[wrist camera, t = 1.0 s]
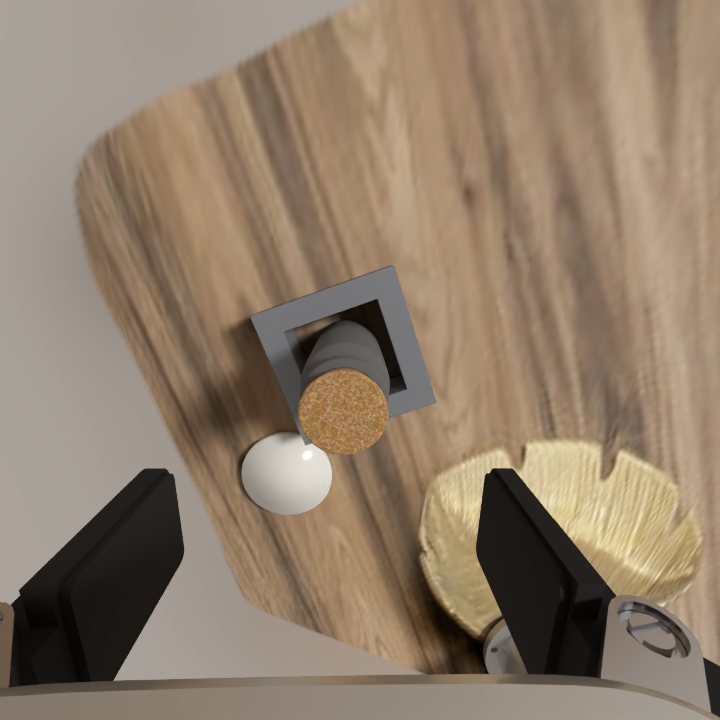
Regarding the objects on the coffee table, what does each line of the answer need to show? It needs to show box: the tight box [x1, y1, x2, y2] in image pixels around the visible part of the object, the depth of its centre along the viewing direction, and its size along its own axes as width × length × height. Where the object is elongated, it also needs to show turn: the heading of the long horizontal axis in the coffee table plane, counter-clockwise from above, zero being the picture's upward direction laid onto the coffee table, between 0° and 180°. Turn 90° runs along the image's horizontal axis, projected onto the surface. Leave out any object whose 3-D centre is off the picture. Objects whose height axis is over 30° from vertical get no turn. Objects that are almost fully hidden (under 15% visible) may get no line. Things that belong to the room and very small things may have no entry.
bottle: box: [298, 320, 390, 455], centre depth 25 cm, size 6×6×15 cm
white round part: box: [241, 432, 332, 515], centre depth 35 cm, size 9×9×1 cm
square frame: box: [250, 265, 437, 446], centre depth 30 cm, size 12×12×4 cm
